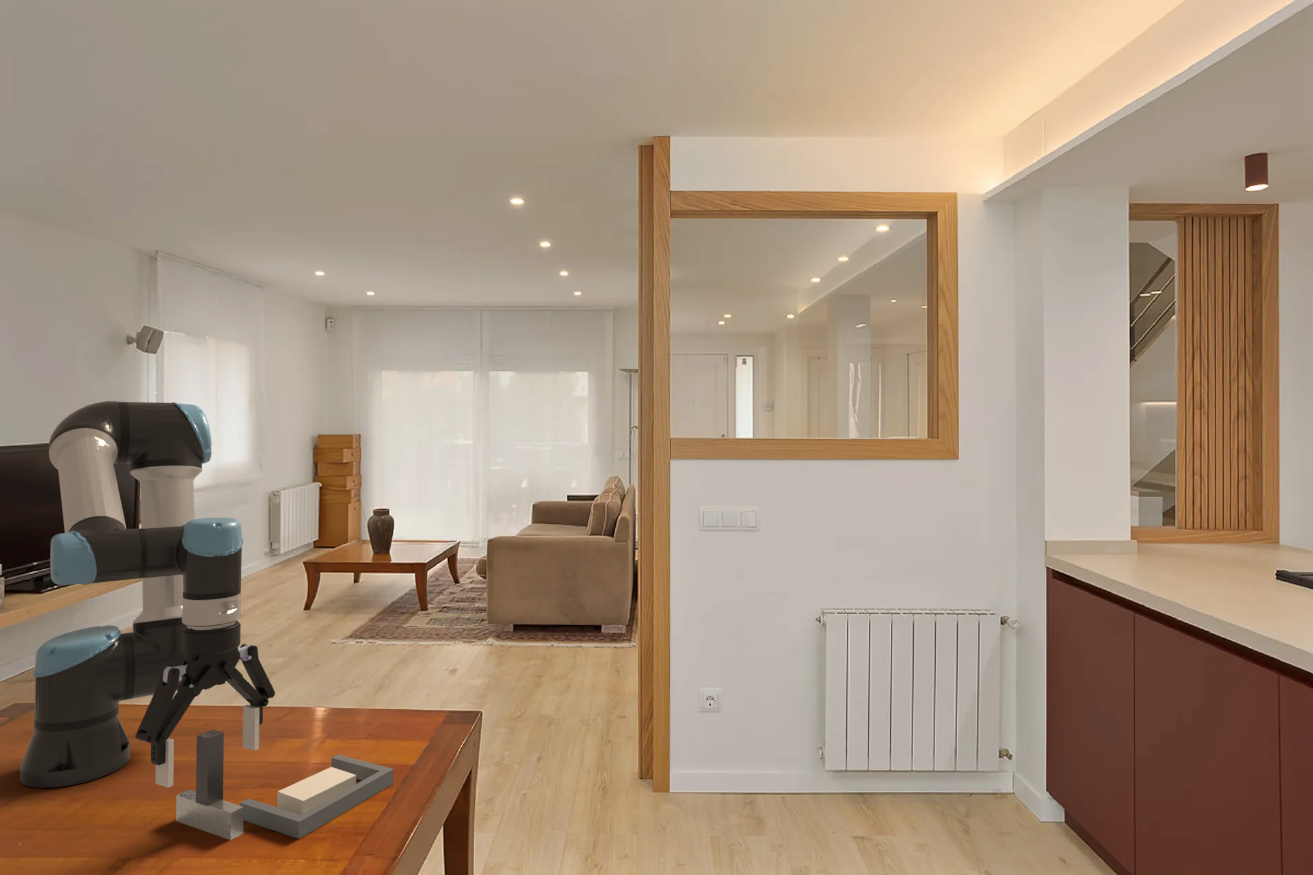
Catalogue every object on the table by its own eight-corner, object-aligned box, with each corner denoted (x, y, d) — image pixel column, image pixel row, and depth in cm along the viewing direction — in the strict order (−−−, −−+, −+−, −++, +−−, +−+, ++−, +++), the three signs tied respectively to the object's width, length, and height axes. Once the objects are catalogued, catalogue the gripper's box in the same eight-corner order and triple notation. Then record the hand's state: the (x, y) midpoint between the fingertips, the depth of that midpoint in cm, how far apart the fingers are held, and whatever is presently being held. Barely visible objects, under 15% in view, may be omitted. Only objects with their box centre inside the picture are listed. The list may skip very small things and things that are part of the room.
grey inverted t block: (174, 821, 114) (175, 729, 114) (190, 814, 117) (191, 723, 116) (229, 841, 110) (230, 744, 109) (244, 832, 112) (246, 738, 112)
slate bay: (239, 818, 116) (239, 802, 116) (338, 768, 133) (338, 754, 133) (299, 838, 110) (299, 821, 110) (393, 783, 128) (393, 768, 128)
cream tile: (277, 810, 119) (277, 791, 119) (330, 784, 128) (331, 766, 128) (303, 820, 116) (303, 800, 116) (355, 792, 125) (356, 774, 125)
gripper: (142, 648, 100) (139, 808, 100) (300, 608, 123) (298, 739, 123) (106, 640, 103) (104, 796, 103) (267, 603, 126) (265, 730, 126)
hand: (209, 765), depth 113 cm, fingers open, 13 cm apart
